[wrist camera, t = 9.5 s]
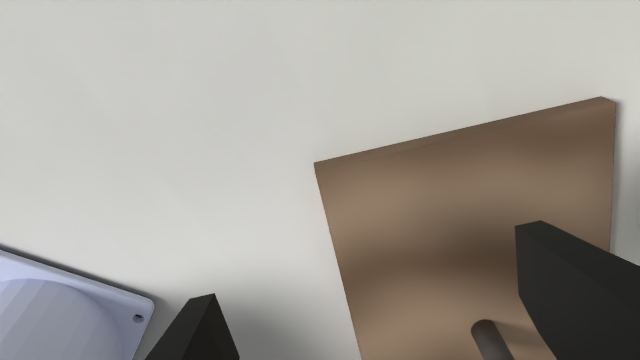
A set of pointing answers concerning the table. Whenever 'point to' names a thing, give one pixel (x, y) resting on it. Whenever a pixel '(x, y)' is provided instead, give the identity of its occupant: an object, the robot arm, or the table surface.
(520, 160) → the stand
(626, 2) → the table surface
